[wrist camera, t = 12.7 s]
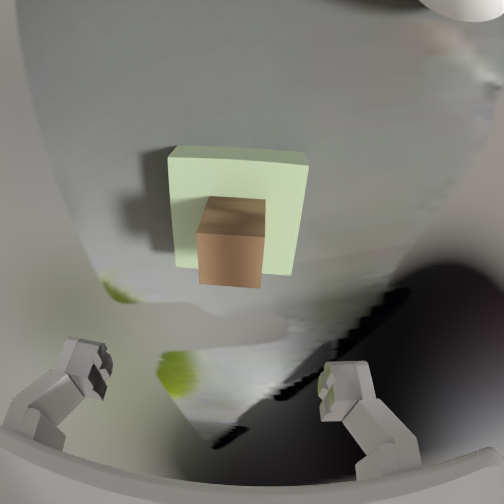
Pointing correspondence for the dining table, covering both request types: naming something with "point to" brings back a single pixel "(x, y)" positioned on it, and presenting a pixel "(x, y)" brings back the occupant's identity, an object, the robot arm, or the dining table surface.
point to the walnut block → (231, 242)
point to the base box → (238, 196)
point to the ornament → (467, 9)
